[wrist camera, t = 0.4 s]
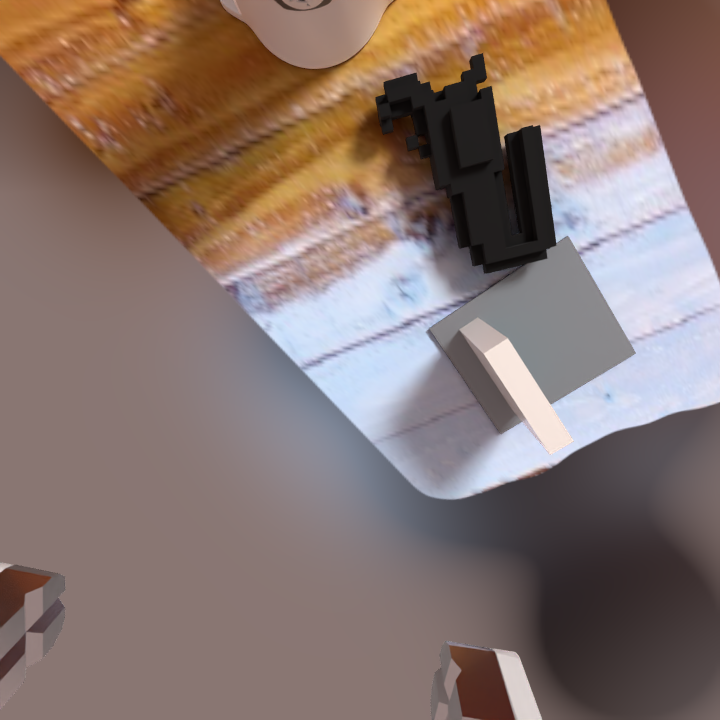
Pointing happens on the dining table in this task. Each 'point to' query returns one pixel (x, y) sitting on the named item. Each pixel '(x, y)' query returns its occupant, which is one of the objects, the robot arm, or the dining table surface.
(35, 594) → the robot arm
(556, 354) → the mat
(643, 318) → the dining table surface
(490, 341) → the tile
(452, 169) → the tool
